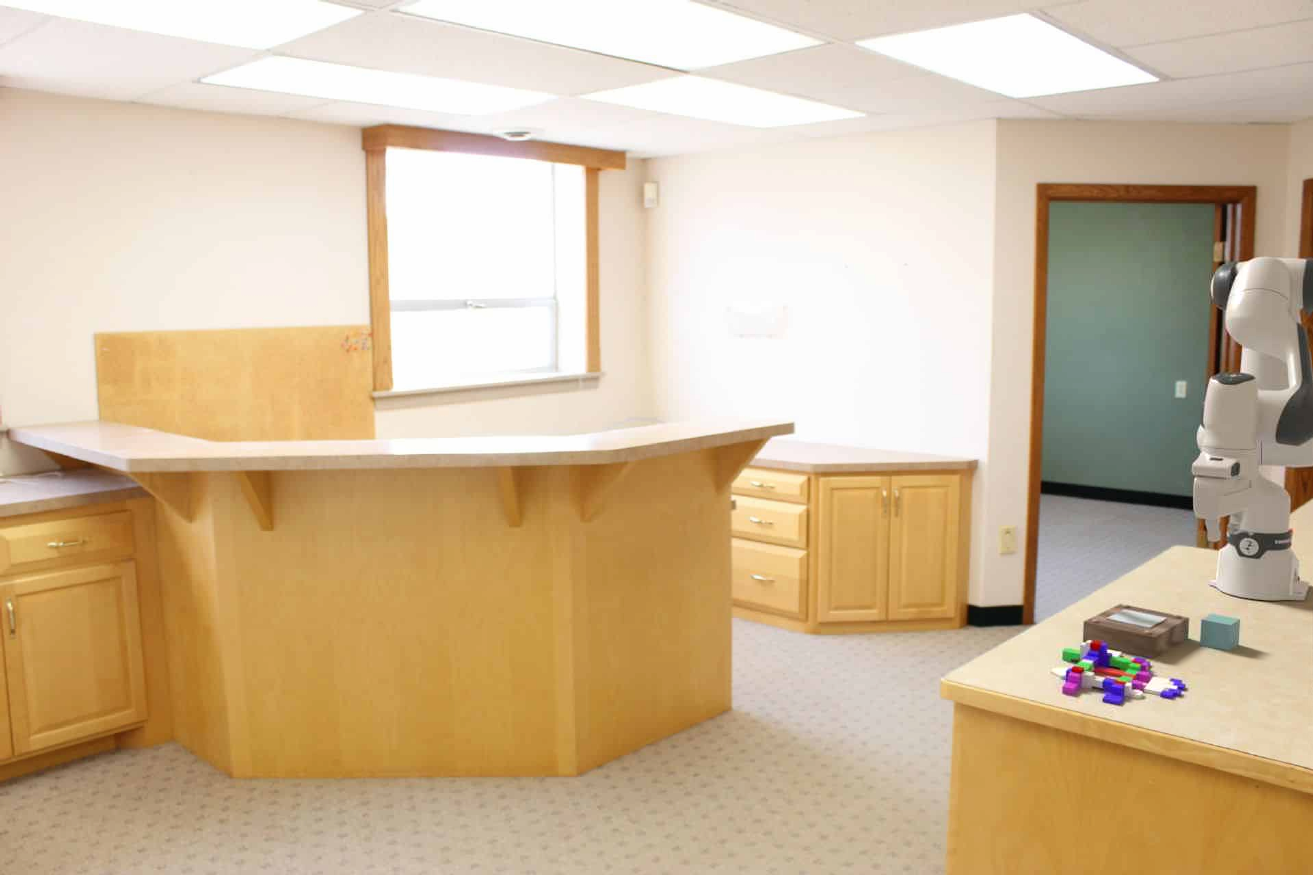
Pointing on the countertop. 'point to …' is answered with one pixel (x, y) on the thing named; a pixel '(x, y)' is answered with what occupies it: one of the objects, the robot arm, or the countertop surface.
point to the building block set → (1112, 674)
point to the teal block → (1220, 632)
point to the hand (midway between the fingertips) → (1223, 537)
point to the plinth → (1137, 630)
